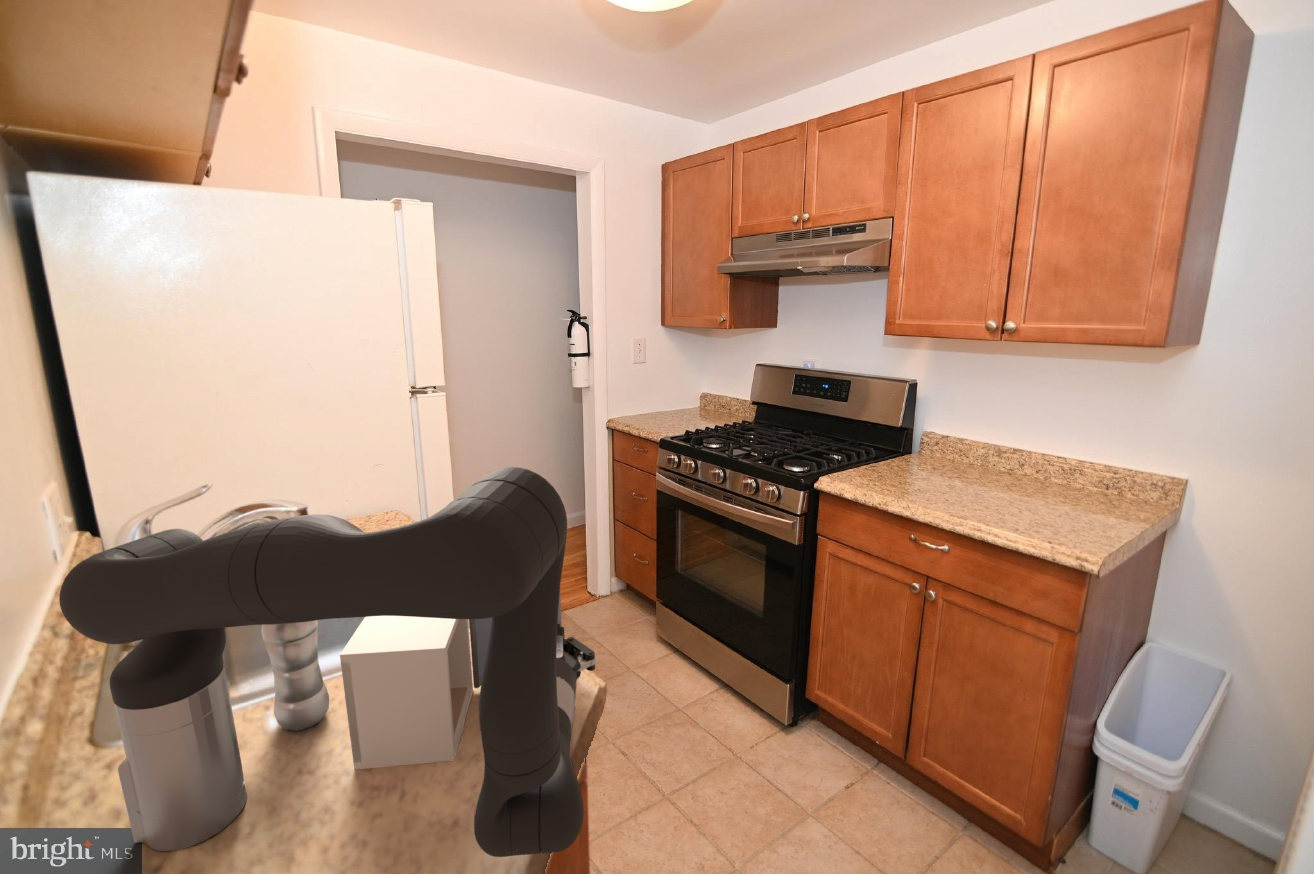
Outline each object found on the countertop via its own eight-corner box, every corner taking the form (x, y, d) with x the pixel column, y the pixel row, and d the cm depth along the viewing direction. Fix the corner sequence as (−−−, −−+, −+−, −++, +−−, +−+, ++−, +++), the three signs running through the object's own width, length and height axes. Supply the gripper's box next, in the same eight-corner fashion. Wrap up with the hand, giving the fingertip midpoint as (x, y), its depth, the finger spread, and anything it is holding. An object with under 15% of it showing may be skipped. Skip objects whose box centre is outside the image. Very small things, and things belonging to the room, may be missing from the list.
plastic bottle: (300, 743, 78) (279, 605, 73) (265, 729, 80) (242, 594, 76) (342, 712, 84) (325, 582, 79) (308, 700, 86) (289, 573, 82)
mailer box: (354, 769, 74) (339, 654, 70) (389, 696, 87) (378, 597, 84) (454, 760, 75) (444, 648, 72) (473, 690, 89) (466, 592, 85)
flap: (562, 665, 94) (560, 578, 90) (474, 688, 88) (468, 597, 84) (561, 662, 94) (558, 576, 91) (473, 685, 88) (466, 594, 85)
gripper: (597, 673, 74) (597, 605, 91) (489, 679, 73) (510, 609, 90) (598, 725, 76) (599, 648, 93) (493, 732, 75) (513, 653, 92)
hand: (555, 629), depth 92 cm, fingers closed
